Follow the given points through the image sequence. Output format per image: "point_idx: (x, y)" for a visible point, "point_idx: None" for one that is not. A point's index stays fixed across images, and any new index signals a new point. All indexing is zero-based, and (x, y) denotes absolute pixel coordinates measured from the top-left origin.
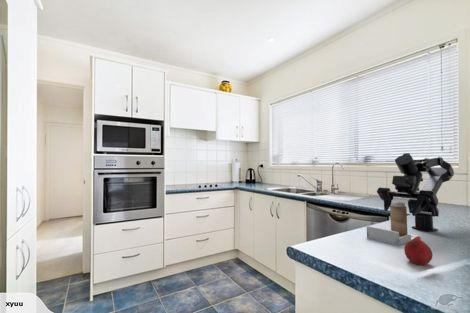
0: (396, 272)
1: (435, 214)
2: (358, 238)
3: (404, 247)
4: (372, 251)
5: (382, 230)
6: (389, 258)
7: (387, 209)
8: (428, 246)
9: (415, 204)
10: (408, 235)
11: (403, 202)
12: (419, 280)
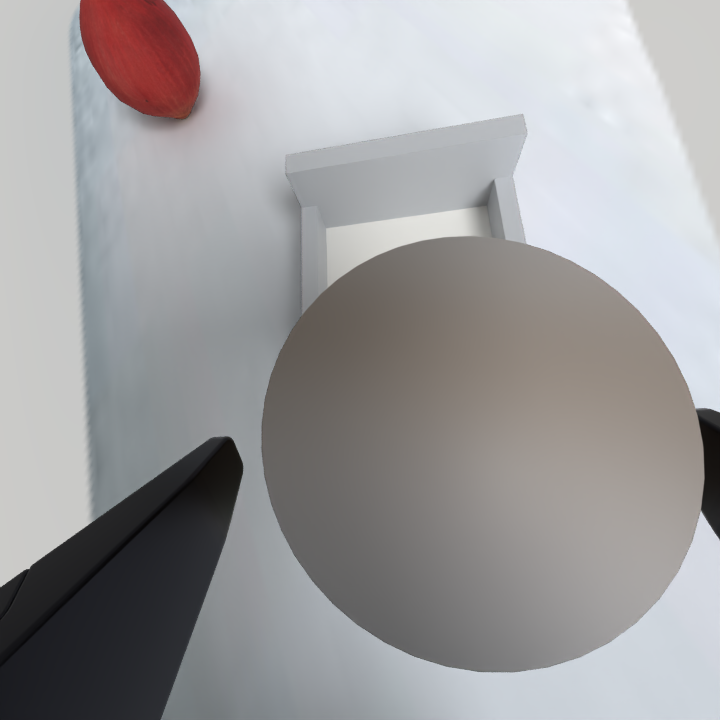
0: (212, 24)
1: None
2: (543, 179)
3: (180, 22)
4: (358, 90)
5: (388, 143)
6: (277, 89)
7: (712, 505)
8: (81, 32)
9: (41, 625)
10: None
11: (345, 583)
12: None
